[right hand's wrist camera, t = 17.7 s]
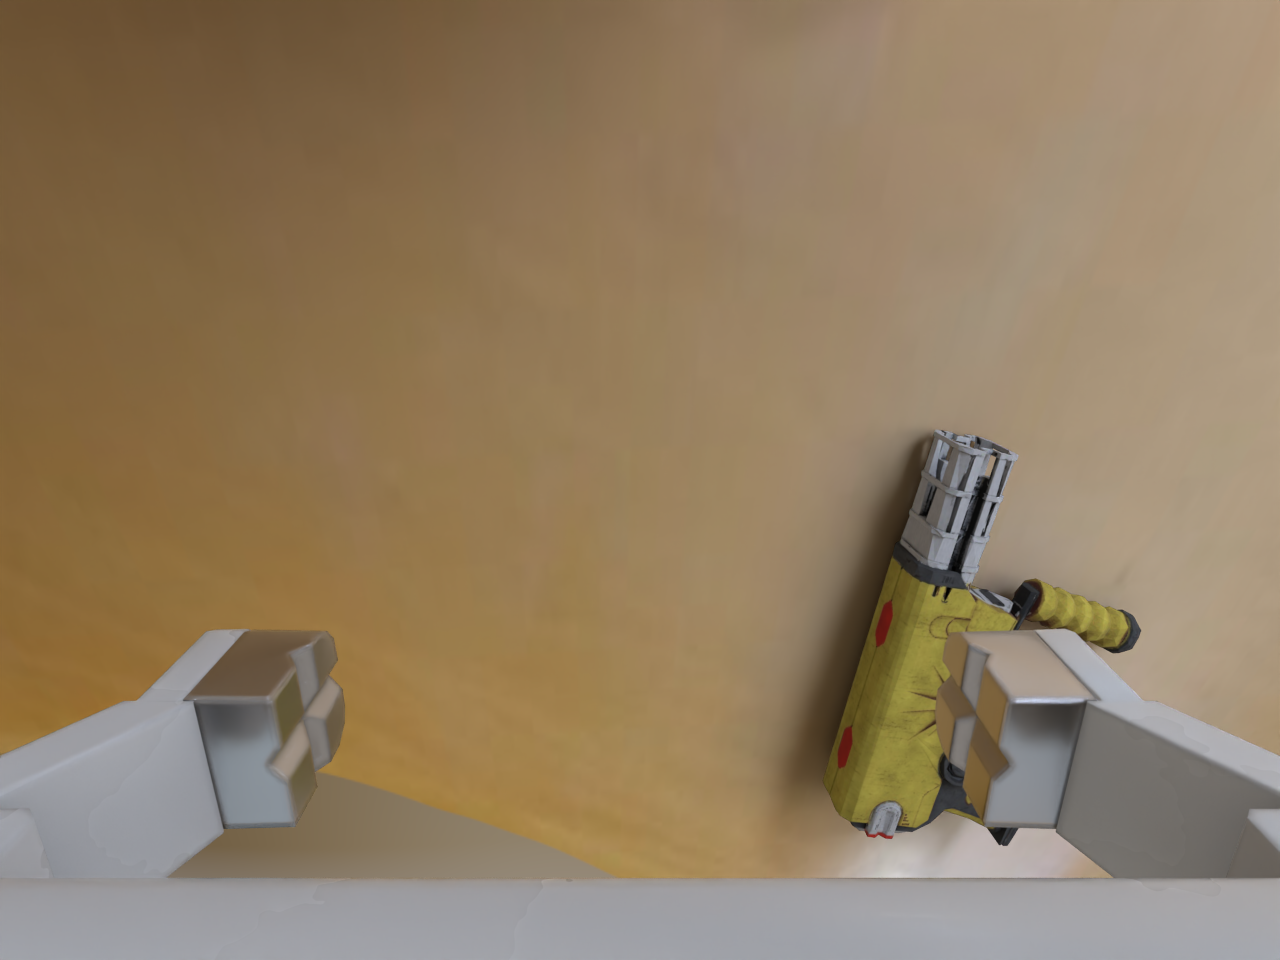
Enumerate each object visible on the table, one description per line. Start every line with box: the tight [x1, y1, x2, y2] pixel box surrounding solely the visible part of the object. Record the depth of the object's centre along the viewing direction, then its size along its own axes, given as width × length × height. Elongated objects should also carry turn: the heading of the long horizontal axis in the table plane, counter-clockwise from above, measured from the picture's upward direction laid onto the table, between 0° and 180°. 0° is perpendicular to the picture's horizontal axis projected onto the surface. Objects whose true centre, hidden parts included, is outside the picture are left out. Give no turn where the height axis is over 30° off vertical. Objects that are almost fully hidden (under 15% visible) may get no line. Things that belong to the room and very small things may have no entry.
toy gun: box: [823, 430, 1141, 846], centre depth 45 cm, size 5×24×15 cm
